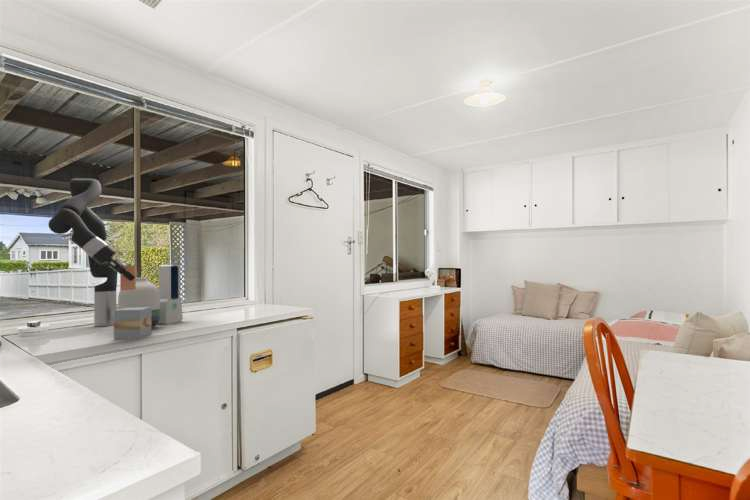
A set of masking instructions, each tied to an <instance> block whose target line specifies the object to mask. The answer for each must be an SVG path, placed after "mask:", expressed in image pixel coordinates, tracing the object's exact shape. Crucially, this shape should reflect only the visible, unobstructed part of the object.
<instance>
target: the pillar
mask: <svg viewBox="0 0 750 500" xmlns="http://www.w3.org/2000/svg"><path fill="white" fill-rule="evenodd" d="M124 268H125V269H127V271H128V272H129V273H131V274H132V275H133V276H134V277H135V278H134V279H133V280H132V281H130V280H129V279H127V278H126V277H125V276H124V275H121V274H120V281H119V282H120V283H119V285H120V287H119V288H120V290H135V289H136V278H137V265H125V266H124ZM120 290H119V291H120Z"/></svg>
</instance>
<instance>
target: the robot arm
mask: <svg viewBox="0 0 750 500" xmlns="http://www.w3.org/2000/svg"><path fill="white" fill-rule="evenodd" d="M69 191H70V195H71V197H69V198H68V199H66V200H65V202H64V203H63V204H62V205H61V207H60V209H59V210H58V211H57V212H56V213H55V214H54V215H53V217H51V218H50V219H49V221H48V227H49V230H50V231H51V232H52V233H55V234H58V235H62V234H63V235H64V234H66V233H68V232H69V231H71V229H72V231H73V233H72V235H71V237H70V238H71V239H70V240H71V241H72V242H73V243H74V244H75V245H77V246H78V247H79V248H80V249H81V250H83V251H84V252H85V253H86V254H87V258H88V263H89V265H88V266H89V271H90V273H91V276H92V277H93V278H97V279H99V278H100V279H102V278H103V279H106V280H105V281H104V282H102V283H100V284H96V285H95V286H94V290H93V291H94V297H93V299H94V300H93V302H94V303H93V304H94V306H93V307H94V308H93V309H94V310H93V314H94V319H93V323H94V324H93V326H94V327H109V326H114V310H118V304H117V287H118V286H117V285H118V274H121V275H124V276H125V277H126V278H127V279H129V280H130V281H132V280H133V279H134V278H135V277H134V276H133V275H132V274H131V273H129V272H128V271H127V269H125V268H124V266H126V265H125V264H124V263H123V262H122V261H121V260H120V259H118V258H114V256H115V255H116V254H117V251H116V250H115V249H113V248H112V247H111V246H110V245H109V244H107V243H106V239H107V232H106V231H107V230H106V226H105V222H104V221H103V220H102V219H101V218H100V217H99V216H98V215H97V214H96V213H94V211H93V210H92V209H91V208H90V207H89V206H90V205H92V203H94V202H95V201H97V200H98V199H99V198H100V197H101V194H102V185H101V183H100V181H99V180H97V179H95V178H72V179H70V181H69Z"/></svg>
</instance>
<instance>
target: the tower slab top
mask: <svg viewBox="0 0 750 500" xmlns="http://www.w3.org/2000/svg"><path fill="white" fill-rule="evenodd" d="M151 316H152V307H135V308H124V309H119V310H118V309H117V310H114V320H141V319H144V318H147V317H151Z"/></svg>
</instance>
